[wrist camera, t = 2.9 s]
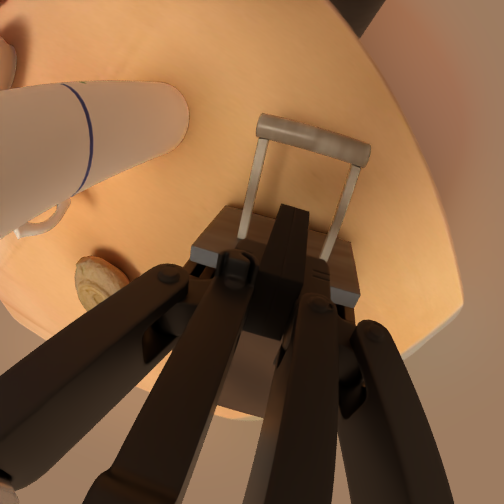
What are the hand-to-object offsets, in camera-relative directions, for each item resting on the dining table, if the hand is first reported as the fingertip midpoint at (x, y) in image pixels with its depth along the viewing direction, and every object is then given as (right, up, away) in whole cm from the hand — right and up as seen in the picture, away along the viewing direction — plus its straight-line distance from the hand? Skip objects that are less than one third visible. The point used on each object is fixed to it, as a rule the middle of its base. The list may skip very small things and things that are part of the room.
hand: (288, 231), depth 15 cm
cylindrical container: (-11, +11, +8) cm, 18 cm away
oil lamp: (-18, -7, +20) cm, 28 cm away
